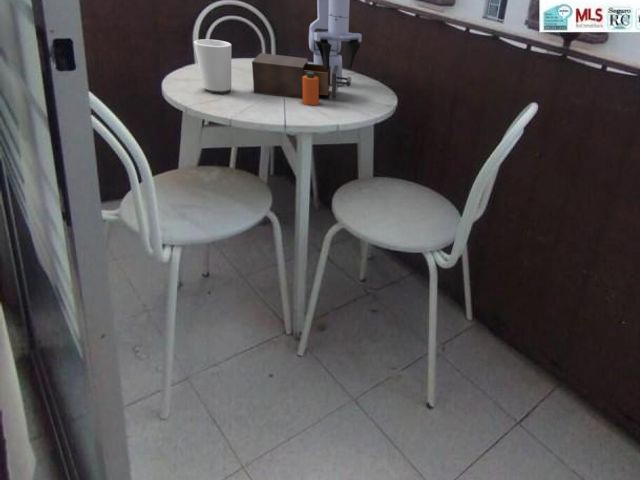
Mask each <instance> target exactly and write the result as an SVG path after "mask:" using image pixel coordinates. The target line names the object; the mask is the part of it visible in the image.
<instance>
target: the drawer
mask: <svg viewBox="0 0 640 480" xmlns="http://www.w3.org/2000/svg"><path fill="white" fill-rule="evenodd" d="M338 68H339V66H337V65H335V66H334V70H333V73H332V85H330V66H329V69H325V68H324V67H323V65H318V64H314V63H310V62H308V63H307V64H306V65H305V67H304V69H303V76H305V75H307V72H313V73H314V76H316V77H318V78H319V96H320V95H321V96H329V92H330V89H331V98H334V99H335V98H337V95H338V89H339V85H338V84H342V85H346V86H347V87H350V86H351V84H352V77H351V76H347V77H346V76H345V77H343V76H342V77H338ZM338 79H341V80H342V82H341V81H338Z"/></svg>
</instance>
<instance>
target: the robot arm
mask: <svg viewBox="0 0 640 480" xmlns="http://www.w3.org/2000/svg"><path fill="white" fill-rule="evenodd" d="M350 3H351V2H350V0H316V5H317V6H316V7H317V8H316V9H317V18H316V19H315V20H314V21H312V22H311V23H310V25H309V26H308V27H309V28H308V46H309V50H310V52H313V64H318V65H323V67H324V68H325V69H329V66H330V86H332V73H333V70H334V66H335V65H337V66H339V68H338V77H343V57H342V55H341V54H339V53H340V52H341V48H342V42H344V48H345V68H347V69H349V70H352V68H353V64H354V60H355V58H356V56H357V53H358V51H359V49H360V48H361V42H362V40H363V39H362V38H363V37H362V33H358V32H349V29H350V28H349V27H350ZM338 81H341V82H343V80H341V79H338ZM339 86H341V87H342V86H343V84H338V87H339Z"/></svg>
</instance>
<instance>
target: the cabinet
mask: <svg viewBox="0 0 640 480" xmlns="http://www.w3.org/2000/svg"><path fill="white" fill-rule="evenodd" d="M307 63H309V59H308V58H306V57H299V56H298V57H297V56H288V55H282V54H281V55H280V54H272V53H263V52H260V53H259V54H258V55H257V56H256V57H255V58H254V59H253V60H252V61H251V70H252V82H253V84H252V85H253V93H255V94H260V95H261V94H263V95H272V96H280V97H291V98H300V99H303V79H302V77H303V69H304V67H305V65H306V64H307Z"/></svg>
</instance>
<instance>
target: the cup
mask: <svg viewBox="0 0 640 480" xmlns="http://www.w3.org/2000/svg"><path fill="white" fill-rule="evenodd" d="M193 45H194V50H195V54H196V60H197V63H198V67H199V68H198V69H199V72H200V77H201V81H202V85H203V89H204V91H206V92H209V93H210V94H216V93H217V92H219V93H220V94H222V95H225V94H227V93H230V92H231V91H232V43H230V42H228V41H224V40H219V39H210V38H209V39H208V38H207V39H205V38H204V39H196V40H194V41H193Z"/></svg>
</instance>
